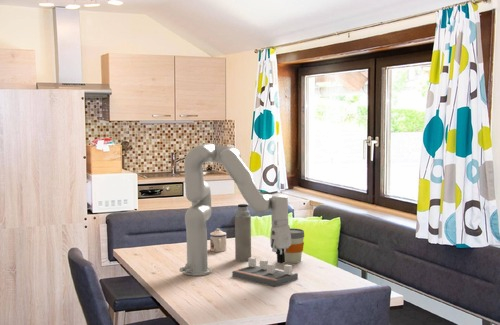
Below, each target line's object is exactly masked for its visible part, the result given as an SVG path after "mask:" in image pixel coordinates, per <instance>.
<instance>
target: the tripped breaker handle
mask: <svg viewBox="0 0 500 325" xmlns="http://www.w3.org/2000/svg"><path fill="white" fill-rule="evenodd" d="M275 269H276V265H275V264H274V263H268V264H267V273H271V274H273V273H275Z"/></svg>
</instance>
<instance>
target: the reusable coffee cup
mask: <svg viewBox="0 0 500 325" xmlns="http://www.w3.org/2000/svg"><path fill="white" fill-rule="evenodd" d="M290 231H291V246H289V248H287V249H286V253H285V263H290V264H291V263H300V262H302V261H301V260H302V255H303V251H304V245H305V244H304V243H305V242H304V238H305V230H304V229H302V228H294V227H293V228H291V227H290Z"/></svg>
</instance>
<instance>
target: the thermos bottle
mask: <svg viewBox="0 0 500 325" xmlns="http://www.w3.org/2000/svg"><path fill="white" fill-rule="evenodd" d="M248 206H249V204H248V203H243V204H242V203H240V204H238V205H237V210H236V212H235V214H236V215H235V216H234V243H235V244H234V245H235V246H234V248H235V251H234V253H235V259H234V260H235V261H237V262H248V258H250V257H252V216H251V214H250V213H251V212H250V210H249V209H248Z"/></svg>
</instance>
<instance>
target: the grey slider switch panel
mask: <svg viewBox="0 0 500 325" xmlns="http://www.w3.org/2000/svg"><path fill="white" fill-rule="evenodd" d="M247 262H248V266H245V267H242V268H239V269H236V270H235V269H234V270H232V272H231V273H232V274H231V277H233V278H236V279H240V280H245V281H249V282H254V283H258V284H260V285H261V284H262V285H267V286H270V287H275V288H277V287H279V286H282V285H284V284H288V283H290V282H293V281H296V280H298V279H299V276H298V275H299V273H298V272H293V265H290V264H284V265H283V269H279V268H275V273H273V274H271V273H267V264H269V263H268V260H267V259H260V260H259V264H257V258H256V257H253V256H251V257H250V258H248V261H247Z"/></svg>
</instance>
